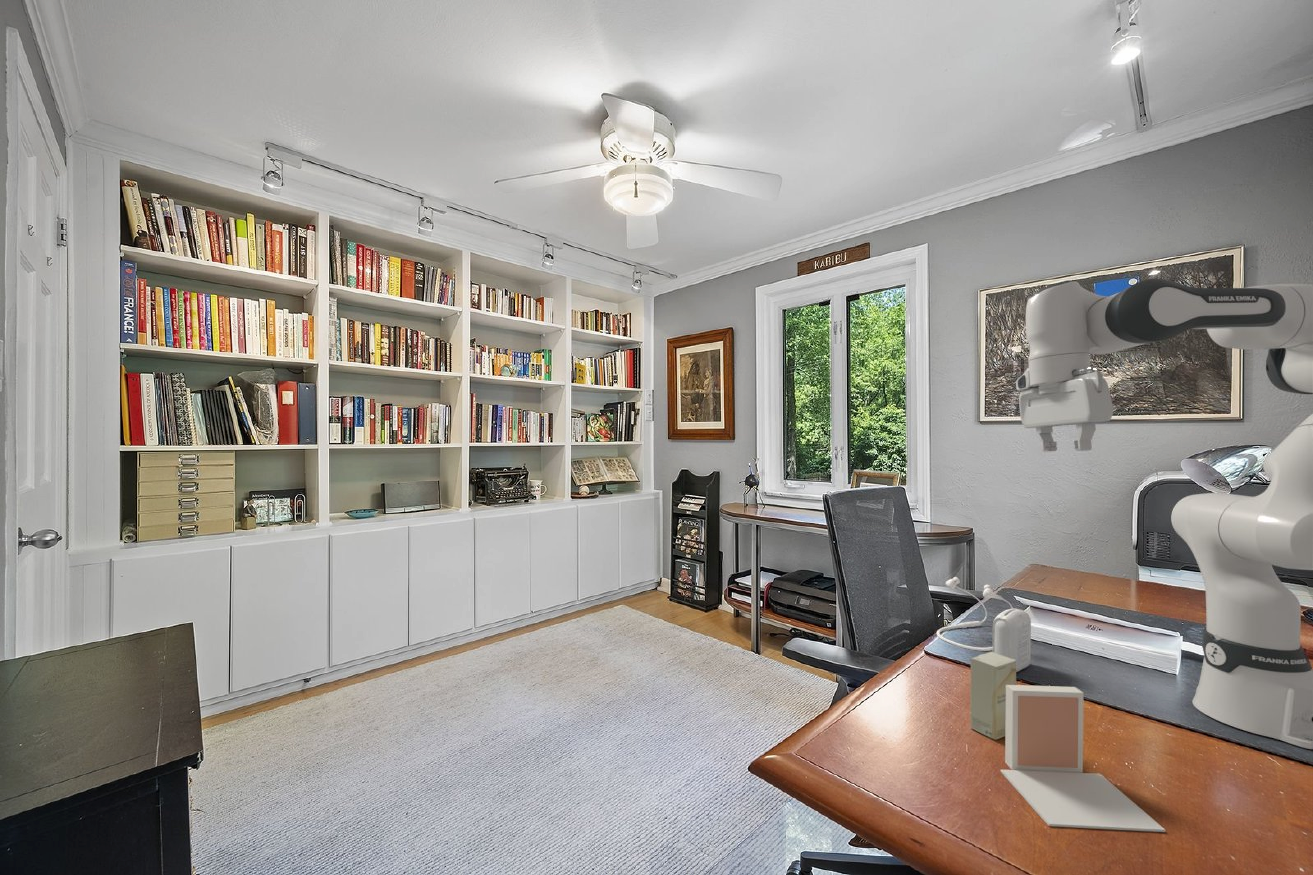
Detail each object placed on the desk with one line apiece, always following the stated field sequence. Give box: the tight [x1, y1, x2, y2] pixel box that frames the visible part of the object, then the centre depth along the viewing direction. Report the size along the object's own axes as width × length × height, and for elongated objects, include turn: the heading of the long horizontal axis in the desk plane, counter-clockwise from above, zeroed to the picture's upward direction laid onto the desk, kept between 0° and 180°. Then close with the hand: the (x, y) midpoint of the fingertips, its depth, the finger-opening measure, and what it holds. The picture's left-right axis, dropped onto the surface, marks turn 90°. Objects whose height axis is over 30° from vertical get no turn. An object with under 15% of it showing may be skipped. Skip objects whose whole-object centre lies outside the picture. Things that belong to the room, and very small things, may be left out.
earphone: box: [936, 576, 1014, 652], centre depth 131 cm, size 14×17×18 cm
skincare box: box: [970, 651, 1017, 740], centre depth 91 cm, size 6×4×12 cm
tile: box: [1004, 684, 1084, 773], centre depth 80 cm, size 10×2×12 cm, turn 86°
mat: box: [999, 769, 1166, 833], centre depth 74 cm, size 14×11×1 cm
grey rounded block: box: [991, 607, 1032, 673], centre depth 114 cm, size 10×4×12 cm, turn 123°
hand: (1065, 451), depth 95 cm, fingers open, 8 cm apart
